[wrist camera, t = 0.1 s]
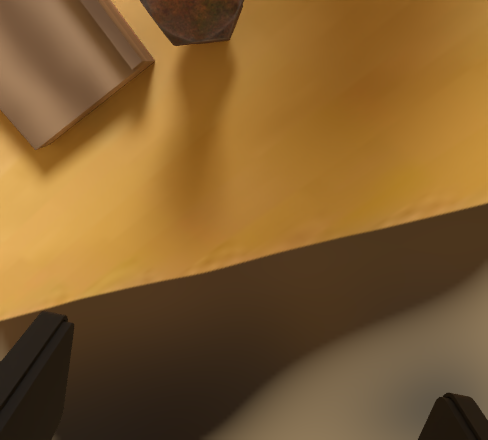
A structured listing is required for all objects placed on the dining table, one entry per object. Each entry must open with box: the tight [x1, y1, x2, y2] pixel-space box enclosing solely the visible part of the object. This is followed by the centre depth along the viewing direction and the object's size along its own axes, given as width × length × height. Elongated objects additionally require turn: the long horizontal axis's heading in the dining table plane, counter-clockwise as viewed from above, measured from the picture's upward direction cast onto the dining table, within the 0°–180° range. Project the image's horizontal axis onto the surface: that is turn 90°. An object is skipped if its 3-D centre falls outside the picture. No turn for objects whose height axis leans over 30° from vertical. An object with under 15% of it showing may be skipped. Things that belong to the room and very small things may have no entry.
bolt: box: [140, 0, 244, 46], centre depth 30 cm, size 6×5×15 cm
